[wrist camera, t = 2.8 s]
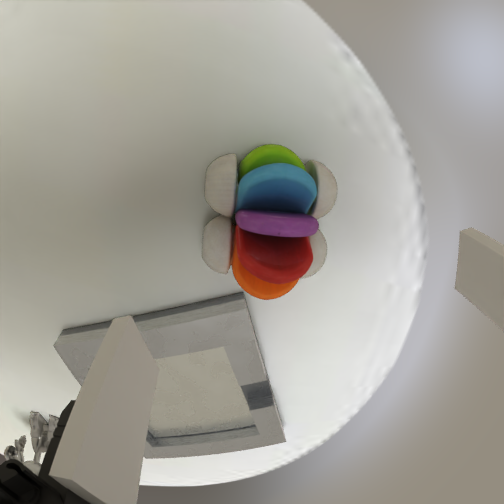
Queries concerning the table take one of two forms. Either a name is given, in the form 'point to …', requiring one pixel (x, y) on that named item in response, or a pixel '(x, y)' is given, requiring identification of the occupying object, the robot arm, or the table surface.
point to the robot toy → (33, 441)
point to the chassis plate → (196, 378)
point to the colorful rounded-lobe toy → (267, 219)
